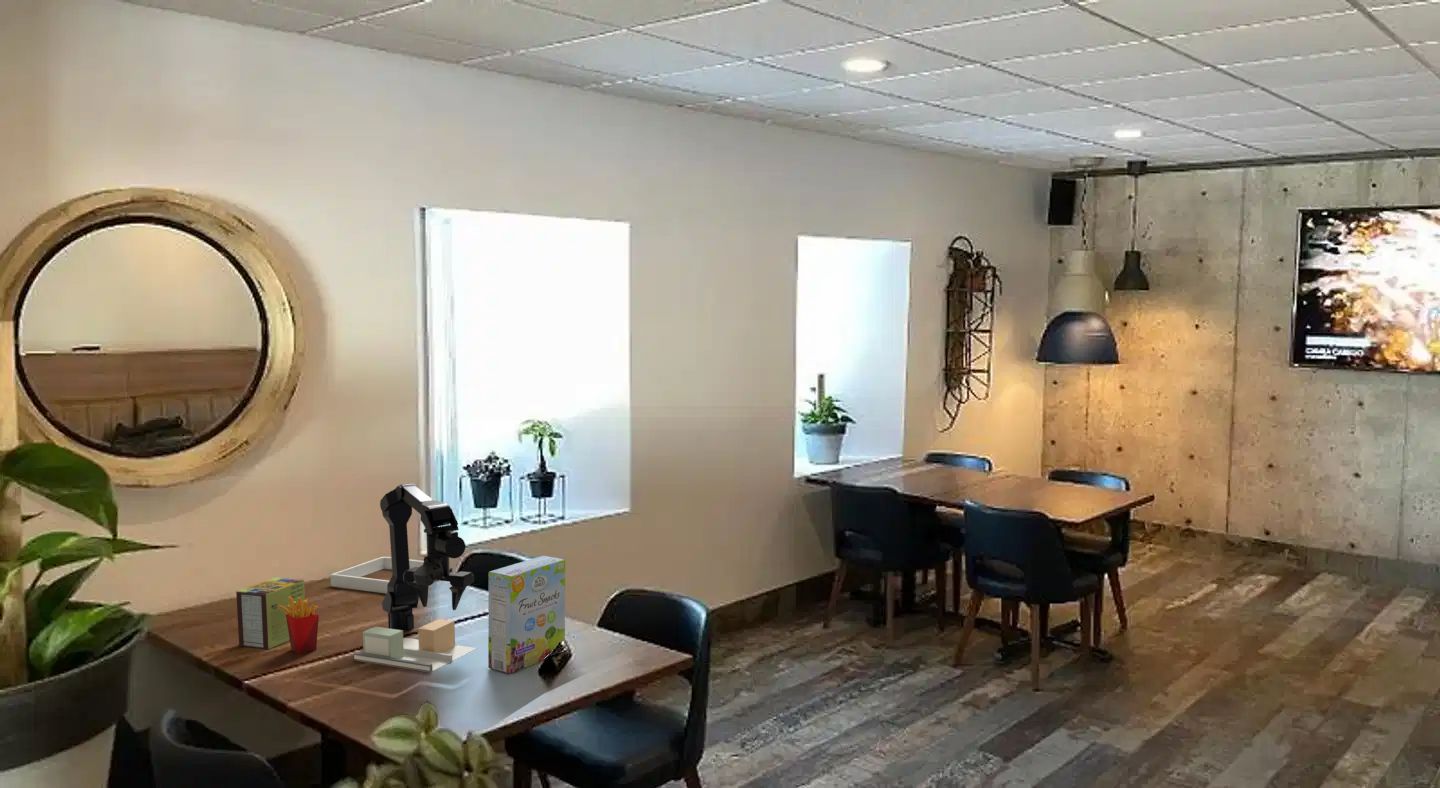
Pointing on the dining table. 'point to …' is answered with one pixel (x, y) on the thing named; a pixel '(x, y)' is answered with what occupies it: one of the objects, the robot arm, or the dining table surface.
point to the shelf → (416, 657)
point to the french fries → (302, 625)
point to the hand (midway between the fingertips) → (439, 608)
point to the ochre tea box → (437, 636)
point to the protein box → (266, 611)
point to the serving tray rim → (354, 578)
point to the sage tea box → (383, 642)
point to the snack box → (525, 612)
